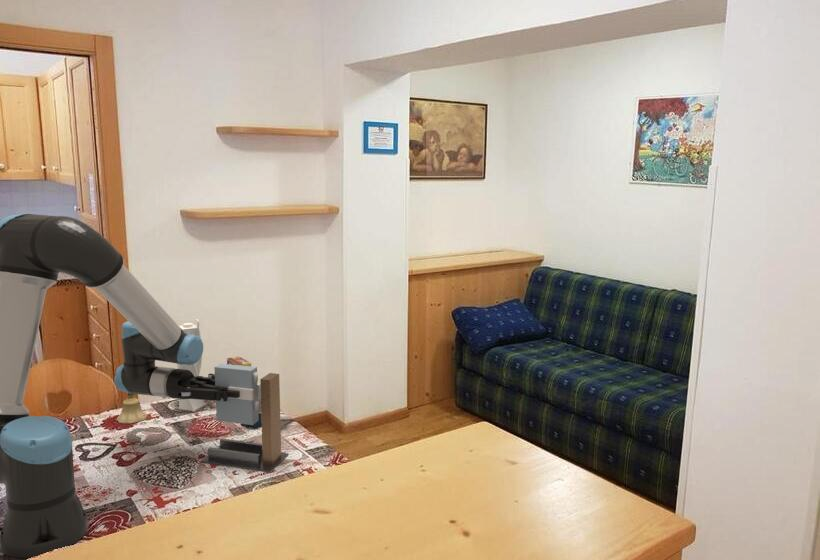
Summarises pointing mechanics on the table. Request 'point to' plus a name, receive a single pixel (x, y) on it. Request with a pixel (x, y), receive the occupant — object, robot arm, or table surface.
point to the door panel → (237, 408)
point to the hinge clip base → (270, 449)
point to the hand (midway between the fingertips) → (256, 392)
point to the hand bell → (131, 411)
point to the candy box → (238, 361)
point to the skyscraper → (192, 404)
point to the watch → (258, 423)
